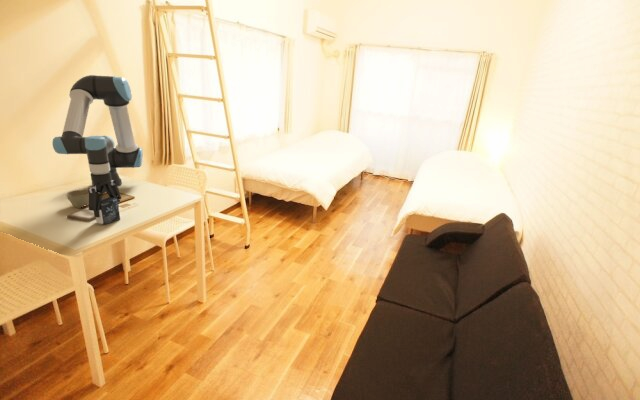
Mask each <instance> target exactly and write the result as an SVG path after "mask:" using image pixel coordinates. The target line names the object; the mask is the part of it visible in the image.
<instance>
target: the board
mask: <svg viewBox="0 0 640 400" xmlns="http://www.w3.org/2000/svg"><path fill="white" fill-rule="evenodd" d="M66 218H67V219H71V220H76V221H77V220H79V221H84V222H92V221H94V220H96V217H95V216H94V211H92V210H89V206H86V207H83V208H81V209H79V210H77V211H75V212H72V213H70V214H68V215H66Z"/></svg>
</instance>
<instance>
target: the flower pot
mask: <svg viewBox="0 0 640 400" xmlns="http://www.w3.org/2000/svg"><path fill="white" fill-rule="evenodd" d="M65 194H66V197H67V199H68V201H69V202H70V203H71V204H72V206H73V207H75V208H79V209H80V208H81V207H82V206H84V205H87V204H88V205H89V192H88V189H76V190H71V191H69V192H67V193H65ZM88 205H87V206H88ZM82 208H83V207H82ZM82 208H81V209H82Z"/></svg>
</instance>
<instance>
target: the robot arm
mask: <svg viewBox="0 0 640 400" xmlns="http://www.w3.org/2000/svg"><path fill="white" fill-rule="evenodd" d="M132 95H133V94H132V91H131V87H130V84H129V82H128V80H127V79H126V78H125V77H121V76H116V75H115V76H109V75H95V74H90V75H86V76H82V77H81V78H80V79H78V80H76V81H75V83H74V84H73V85H72V86H71V88H70V91H69V98H70V101H69V106H68V110H67V113H66V118H65V122H64V125H63V130H62V134H61V136H54V138H53V139H52V148H53V151H54V152H55V153H56V154H59V155H60V154H61V155H86V156H87V162H88V167H89V172H90V179H91V180H90V181H91V186H92V187H88V188H87V190H88V192H89V203H88V207H89V210H92V211H94V216H95V217H96V219H95V221H96V224H101V225H102V224H103V218H102V212H101V210H99V209H100V203H101V199H103V196H104V194H105V193H107V195H108V197H113V198H116V199H117V201H118V203H120V202H121V199H122V196H121V193H120V190H119V186H121V185H122V184H123V183H122V178H121V177H120V176H119V173H118V171H117V169H119V168H120V169H121V168H123V169H125V168H127V169H128V168H131V169H132V168H133V169H134V168H141V167H142V166H143V165H142V164H143V156H144V152H143V150H144V149H143V148H141V147H139V145H138V143H136V141H135V139H134V133H133V130H132V129H133V128H132V124H131V120H130V115H129V110H128V105H129V104H130V101H131V100H132ZM94 100H100V101H101V100H103V104H104V105H105V106H106V107H108V111H109V115H110V118H111V122H112V126H113V130H114V133H115V134H114V135H115V138H116V142H117V144H116V146H115V141H114V140H113V138H112V137H110V136H107V135H89V136H84V132H85V128H86V123H87V119H88V114H89V108H90V105H92V103H94ZM96 207H97V208H96ZM118 207H120V206H119V204H118Z"/></svg>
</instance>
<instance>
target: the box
mask: <svg viewBox="0 0 640 400" xmlns="http://www.w3.org/2000/svg"><path fill="white" fill-rule="evenodd" d="M118 205H119V202H118V201H117V199H116V198H113V197H109V196H108V197H104V198H103V197H102V199H101V203H100V209H99V210H101V212H102V218H103V224H101V226H102V225H103V226H104V225H107V224H111V223H114V222H117V221H120V220H121V216H120V208H119V207H120V206H119V207H118ZM96 208H97V207H96Z"/></svg>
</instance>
